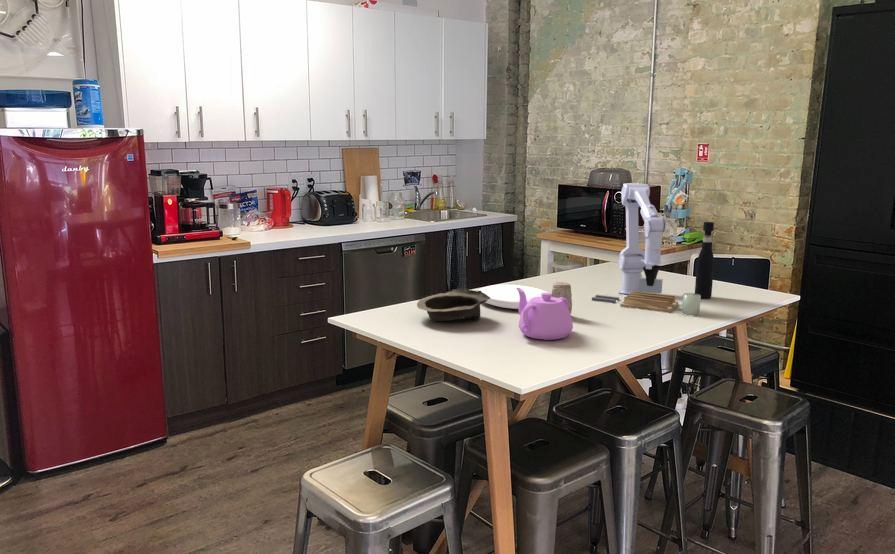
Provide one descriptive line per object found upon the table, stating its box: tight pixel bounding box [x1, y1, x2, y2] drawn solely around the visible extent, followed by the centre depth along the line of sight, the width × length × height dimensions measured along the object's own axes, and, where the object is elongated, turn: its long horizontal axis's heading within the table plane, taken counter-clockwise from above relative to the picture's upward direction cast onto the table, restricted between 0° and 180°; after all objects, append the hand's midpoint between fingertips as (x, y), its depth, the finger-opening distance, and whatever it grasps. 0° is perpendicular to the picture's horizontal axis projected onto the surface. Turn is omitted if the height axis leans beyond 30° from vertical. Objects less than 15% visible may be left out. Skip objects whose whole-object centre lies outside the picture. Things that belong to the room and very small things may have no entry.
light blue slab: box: [639, 276, 664, 294], centre depth 271 cm, size 2×8×5 cm, turn 65°
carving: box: [551, 281, 573, 315], centre depth 254 cm, size 6×8×12 cm
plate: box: [477, 284, 549, 310], centre depth 273 cm, size 28×6×27 cm
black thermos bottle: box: [694, 221, 715, 300], centre depth 284 cm, size 6×6×30 cm
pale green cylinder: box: [681, 292, 702, 316], centre depth 260 cm, size 6×6×7 cm
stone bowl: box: [416, 288, 490, 322], centre depth 249 cm, size 25×25×9 cm
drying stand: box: [591, 294, 620, 304], centre depth 281 cm, size 6×9×1 cm
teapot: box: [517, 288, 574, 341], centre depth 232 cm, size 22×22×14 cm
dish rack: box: [619, 291, 679, 313], centre depth 272 cm, size 15×18×4 cm
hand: (650, 285), depth 271 cm, fingers closed on light blue slab, 2 cm apart
